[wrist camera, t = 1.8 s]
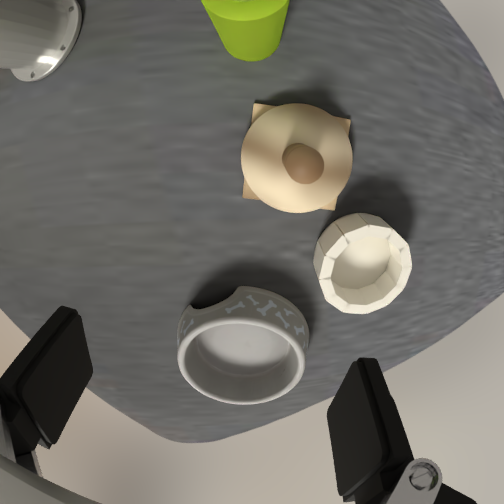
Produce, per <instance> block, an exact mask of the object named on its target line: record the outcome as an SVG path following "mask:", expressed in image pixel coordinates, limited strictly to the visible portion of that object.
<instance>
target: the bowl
mask: <svg viewBox="0 0 504 504" xmlns="http://www.w3.org/2000/svg"><path fill="white" fill-rule="evenodd" d="M313 264H314V267H315V270H316V273H317V276H318V279H319V282H320V285H321V288H322V290H323V293H324V296H325V299H326V300H327V301H328V302H329V303H330V304H332V305H333V306H335V307H336V308H337V309H339V310H340V311H342V312H344V313H355V314H365V312H366V314H367V313H370V312H372V311H375V310H377V309H380V308H382V307H385V306H387V305H386V304H389V303H390V302H391V301H392V300H393V299H394V298H395V297H396V296H397V295H398V294H399V293H400V292H401V291H402V290H403V288H405V285H406V282H407V280H408V277H409V274H410V271H411V268H412V267H411V266H412V262H411V256H410V250H409V245H408V244H407V242H406V241H405V240H404V239H403V238H402V237H401V236H400V235H399V234H398V233H397V232H396V231H395V230H394V229H393V228H391V227H390V226H389V225H388V224H387V223H386V222H385V221H384V220H383V219H381V218H380V217H379V216H374V215H372V214H368V213H353V214H349V215H345V216H343V217H341V218H339V219H337V220H335V221H334V222H333V223H331V224H330V225H329V226H328V227H327V228H326V229H325V230H324V231H323V233H322V234H321V236H320V237H319V239H318V241H317V244H316V247H315V251H314V260H313Z"/></svg>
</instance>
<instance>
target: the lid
mask: <svg viewBox="0 0 504 504" xmlns="http://www.w3.org/2000/svg"><path fill="white" fill-rule="evenodd" d="M352 162H353V160H352V148H351V144H350V141H349V138H348V136H347V134H346V132H345V130H344V129H343V127H342V126H341V125H340V123H339V122H338V121H337V120H336V119H335V118H334V117H333V116H331V115H330V114H329V113H327V112H326V111H324V110H322V109H320V108H317V107H315V106H312V105H308V104H300V103H291V104H285V105H281V106H278V107H275V108H273V109H271V110H269V111H267V112H265V113H264V114H263V115H261V116H260V117H259V118H258V119H257V120H256V121H255V122H254V123H253V124H252V126H251V127H250V129H249V130H248V132H247V134H246V136H245V139H244V142H243V145H242V150H241V164H242V170H243V174H244V176H245V179H246V181H247V183H248V185H249V187H250V188H251V189H252V191H253V192H254V193H255V194H256V195H257V197H259V198H260V199H261V200H262V201H263V202H265V203H266V204H268V205H269V206H271V207H273V208H276V209H278V210H281V211H286V212H292V213H304V212H309V211H313V210H316V209H319V208H321V207H323V206H325V205H327V204H328V203H330V202H331V201H332V200H334V199H335V198H336V197H337V196H338V195H339V194H340V192H341V191H342V190H343V188H344V187H345V185H346V183H347V181H348V179H349V176H350V173H351V169H352Z"/></svg>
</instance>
